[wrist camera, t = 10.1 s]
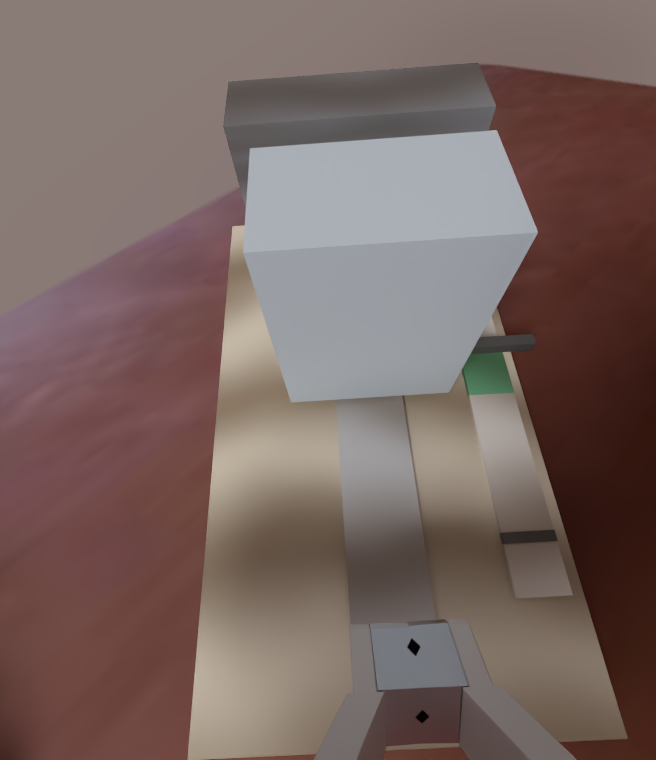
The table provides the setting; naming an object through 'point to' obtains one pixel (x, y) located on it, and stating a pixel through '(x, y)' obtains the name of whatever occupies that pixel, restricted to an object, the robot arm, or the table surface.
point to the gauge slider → (383, 259)
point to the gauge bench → (374, 489)
